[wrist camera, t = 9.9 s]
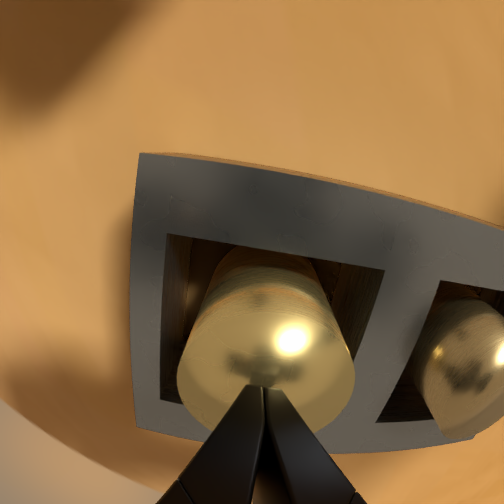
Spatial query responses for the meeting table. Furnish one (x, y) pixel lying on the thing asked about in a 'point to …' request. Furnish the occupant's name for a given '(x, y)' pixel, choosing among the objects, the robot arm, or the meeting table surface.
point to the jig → (310, 245)
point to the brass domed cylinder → (265, 340)
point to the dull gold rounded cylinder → (460, 362)
